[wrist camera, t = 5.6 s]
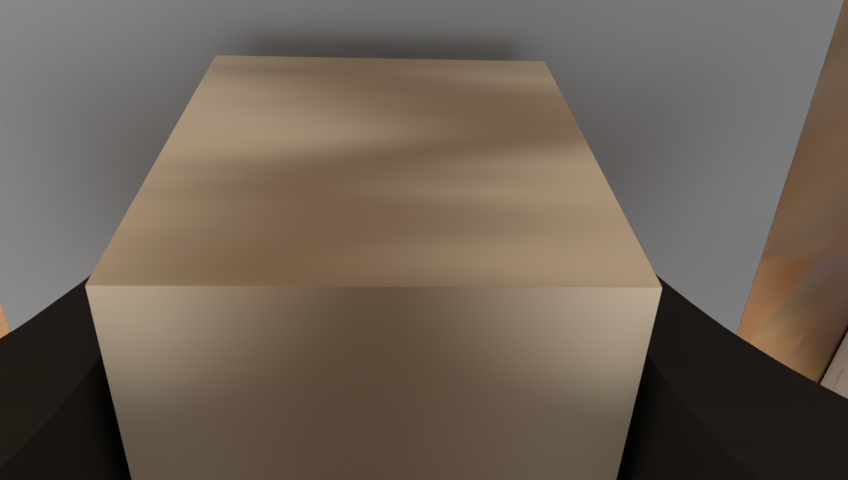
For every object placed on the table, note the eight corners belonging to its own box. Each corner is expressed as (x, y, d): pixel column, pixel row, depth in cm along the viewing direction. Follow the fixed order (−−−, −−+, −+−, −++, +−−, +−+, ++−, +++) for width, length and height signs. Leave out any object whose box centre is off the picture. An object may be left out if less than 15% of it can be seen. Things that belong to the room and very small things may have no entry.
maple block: (544, 62, 12) (662, 287, 7) (513, 319, 15) (582, 621, 10) (216, 55, 12) (85, 285, 7) (244, 319, 14) (167, 628, 9)
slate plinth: (861, -324, 13) (951, -336, 11) (669, 381, 22) (698, 450, 20) (-121, -369, 12) (-225, -392, 10) (84, 383, 21) (50, 454, 19)
